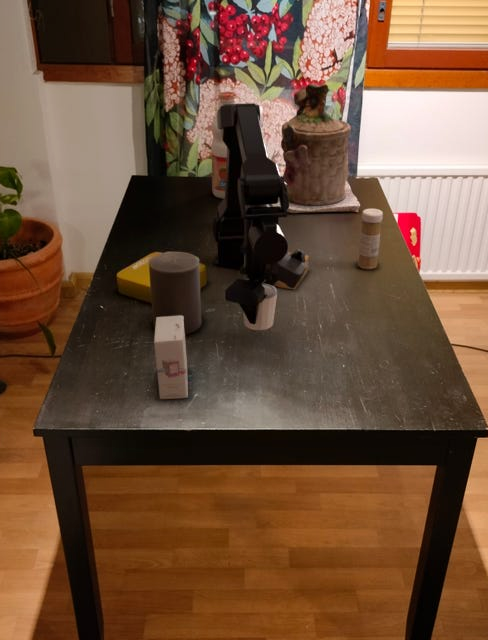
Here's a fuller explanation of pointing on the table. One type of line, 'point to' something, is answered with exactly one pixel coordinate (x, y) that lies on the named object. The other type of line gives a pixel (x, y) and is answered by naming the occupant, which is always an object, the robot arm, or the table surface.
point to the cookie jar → (316, 156)
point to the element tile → (144, 279)
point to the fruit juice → (220, 149)
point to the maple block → (281, 284)
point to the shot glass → (264, 310)
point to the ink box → (171, 357)
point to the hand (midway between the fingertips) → (258, 315)
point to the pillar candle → (176, 288)
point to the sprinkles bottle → (370, 238)
